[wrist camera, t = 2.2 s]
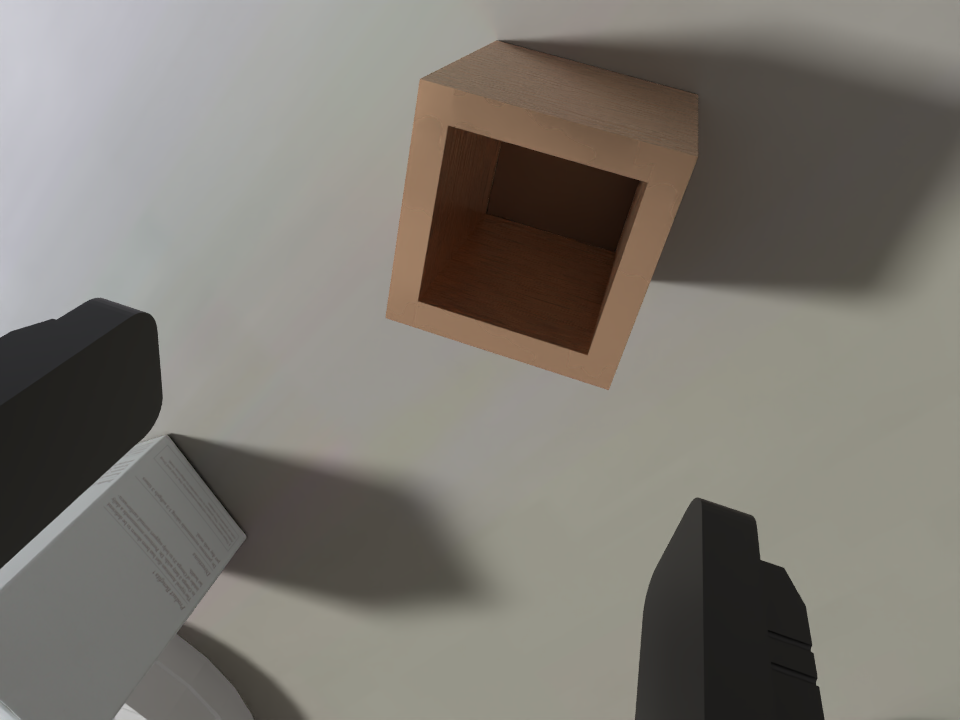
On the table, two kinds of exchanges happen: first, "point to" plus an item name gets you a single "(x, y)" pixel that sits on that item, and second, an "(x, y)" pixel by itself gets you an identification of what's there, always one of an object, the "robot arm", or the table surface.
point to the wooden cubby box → (520, 248)
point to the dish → (184, 689)
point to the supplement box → (109, 586)
